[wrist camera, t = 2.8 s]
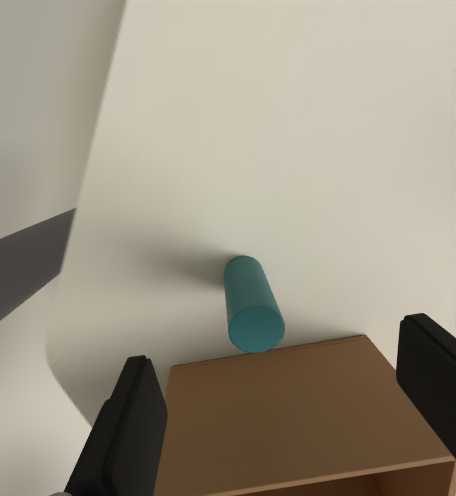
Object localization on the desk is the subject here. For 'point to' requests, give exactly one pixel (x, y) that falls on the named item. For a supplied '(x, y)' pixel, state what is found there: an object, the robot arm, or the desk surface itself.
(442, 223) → the desk surface
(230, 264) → the teal cylinder
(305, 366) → the carton
